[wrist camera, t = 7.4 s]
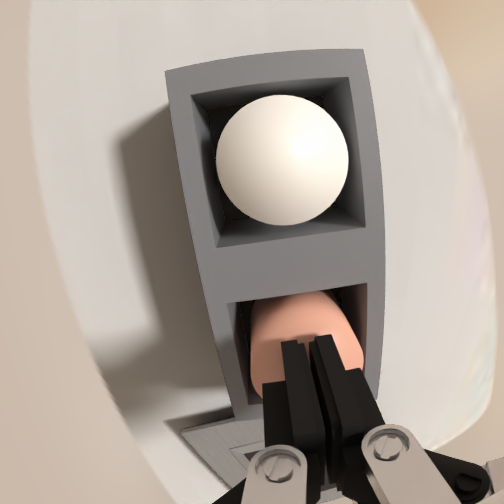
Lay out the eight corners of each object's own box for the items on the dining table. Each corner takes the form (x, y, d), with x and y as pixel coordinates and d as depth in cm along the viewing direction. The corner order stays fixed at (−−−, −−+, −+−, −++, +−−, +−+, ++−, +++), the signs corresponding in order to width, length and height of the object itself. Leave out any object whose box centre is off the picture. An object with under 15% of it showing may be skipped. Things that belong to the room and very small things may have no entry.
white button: (219, 118, 13) (206, 105, 9) (314, 106, 12) (339, 90, 9) (234, 210, 14) (227, 233, 10) (326, 197, 14) (353, 216, 10)
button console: (188, 91, 13) (164, 71, 9) (334, 73, 12) (363, 49, 8) (238, 368, 17) (236, 421, 13) (355, 350, 17) (377, 399, 13)
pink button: (244, 282, 14) (242, 332, 10) (336, 269, 14) (365, 313, 10) (257, 358, 15) (259, 417, 11) (339, 345, 15) (361, 400, 11)
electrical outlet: (379, 464, 21) (386, 485, 19) (262, 497, 22) (262, 518, 20) (348, 359, 17) (359, 385, 15) (185, 409, 18) (179, 436, 16)
